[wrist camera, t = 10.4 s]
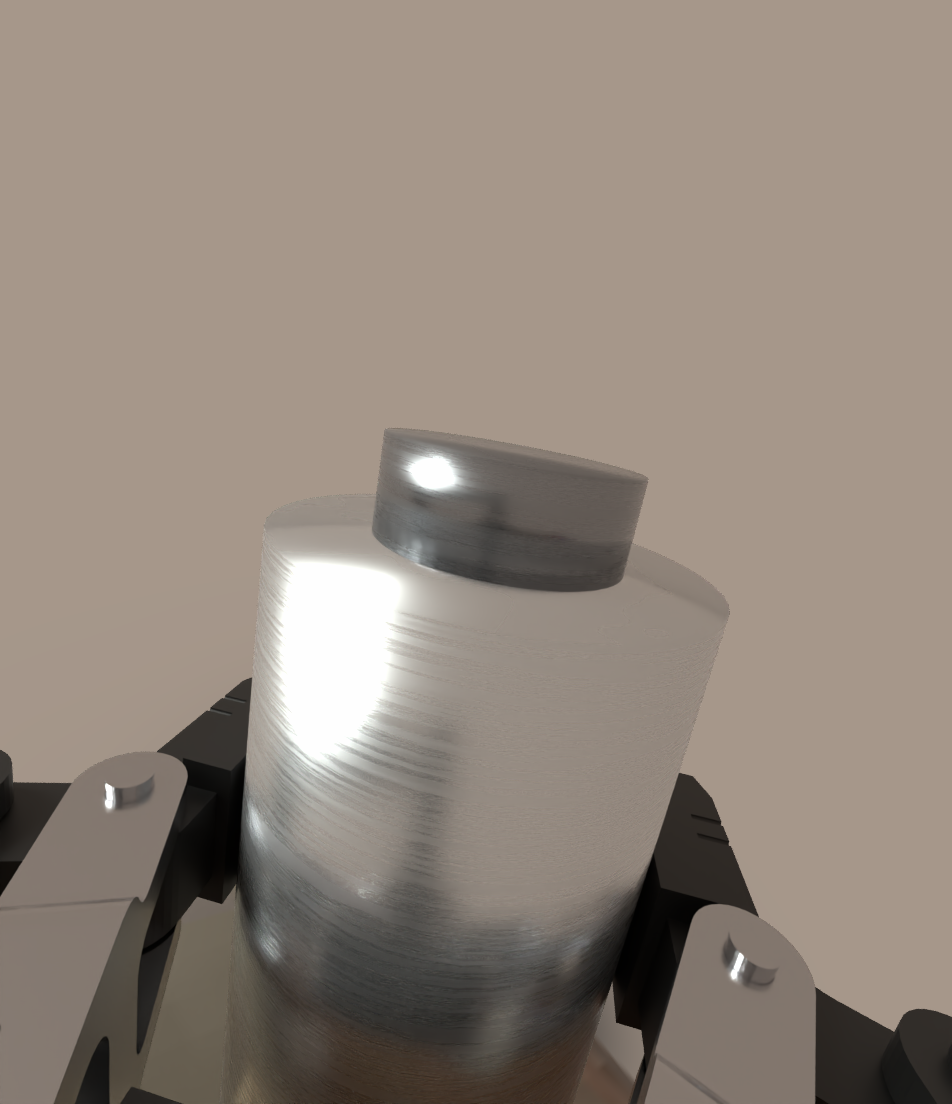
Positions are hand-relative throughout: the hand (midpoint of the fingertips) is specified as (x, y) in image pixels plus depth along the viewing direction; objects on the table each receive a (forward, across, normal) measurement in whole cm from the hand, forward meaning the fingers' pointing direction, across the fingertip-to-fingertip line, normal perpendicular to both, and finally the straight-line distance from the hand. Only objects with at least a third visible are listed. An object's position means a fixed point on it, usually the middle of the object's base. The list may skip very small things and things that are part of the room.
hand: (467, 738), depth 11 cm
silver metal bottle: (-3, 0, +8) cm, 8 cm away
